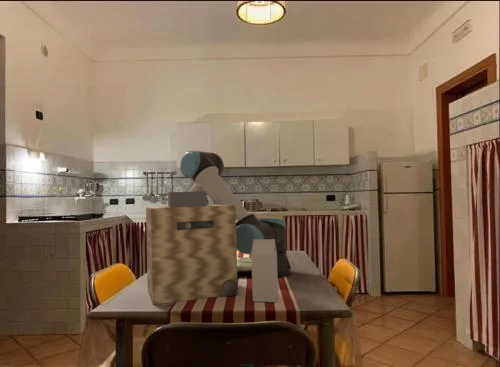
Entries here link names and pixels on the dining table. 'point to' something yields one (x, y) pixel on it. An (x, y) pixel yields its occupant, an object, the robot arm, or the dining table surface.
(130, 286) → the dining table surface
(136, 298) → the dining table surface
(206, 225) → the zigzag patterned box
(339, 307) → the dining table surface
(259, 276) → the milk carton
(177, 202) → the t handle
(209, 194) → the robot arm
